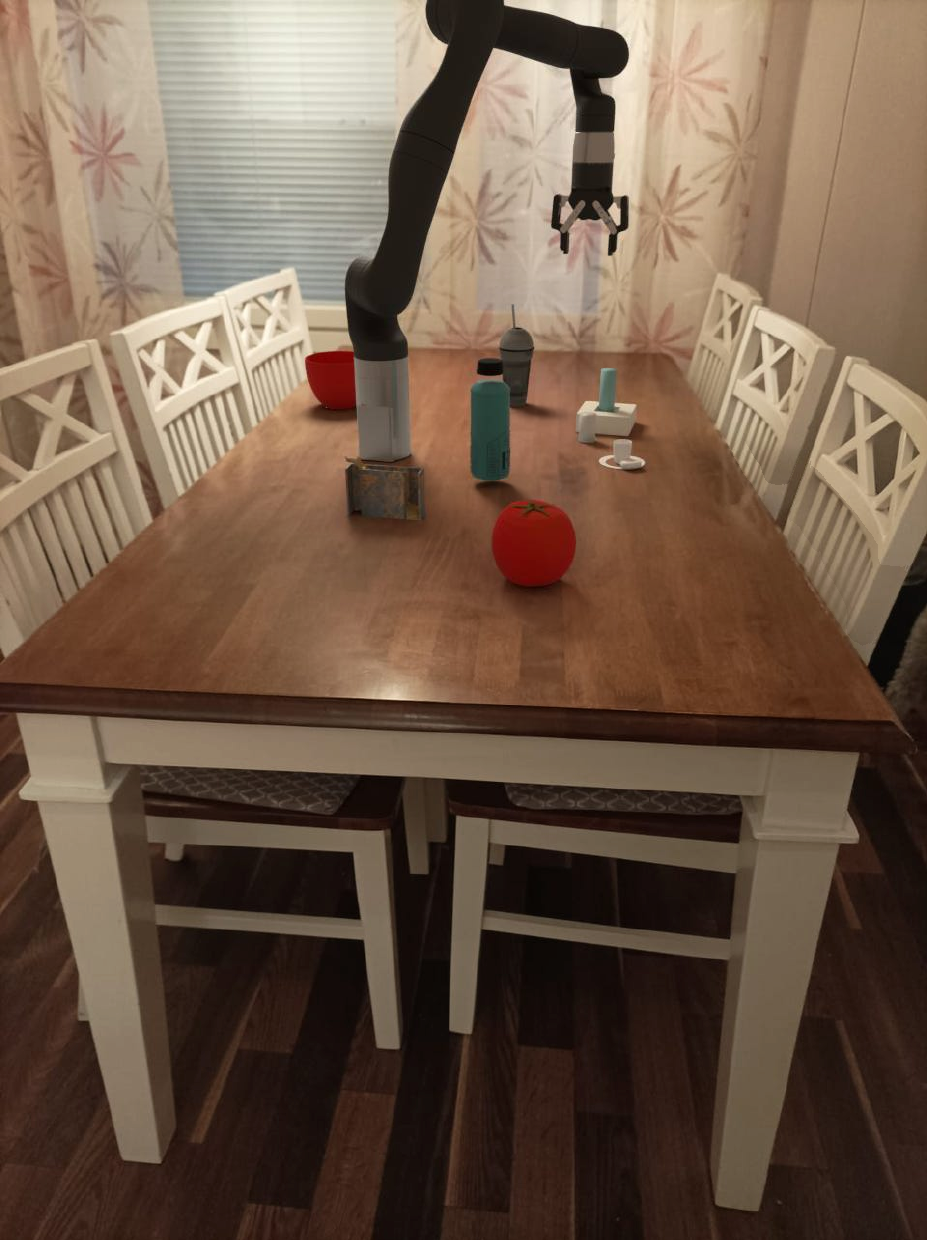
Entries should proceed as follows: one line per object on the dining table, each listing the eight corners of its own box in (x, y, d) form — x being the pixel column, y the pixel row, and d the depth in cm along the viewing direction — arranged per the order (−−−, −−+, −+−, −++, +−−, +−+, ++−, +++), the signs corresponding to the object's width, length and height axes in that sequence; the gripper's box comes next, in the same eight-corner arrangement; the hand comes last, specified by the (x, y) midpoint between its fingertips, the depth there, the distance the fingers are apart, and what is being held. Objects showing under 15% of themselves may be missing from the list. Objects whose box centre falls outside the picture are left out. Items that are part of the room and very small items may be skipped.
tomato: (522, 557, 130) (524, 481, 125) (588, 578, 124) (593, 499, 119) (473, 583, 123) (473, 503, 118) (541, 606, 117) (544, 523, 112)
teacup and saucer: (643, 474, 162) (646, 451, 160) (596, 471, 163) (598, 448, 161) (645, 459, 169) (647, 436, 168) (600, 456, 171) (602, 433, 169)
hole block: (628, 436, 180) (629, 417, 179) (575, 431, 183) (576, 413, 181) (635, 422, 189) (636, 404, 187) (584, 418, 191) (585, 400, 190)
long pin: (611, 429, 184) (615, 371, 179) (596, 428, 185) (599, 370, 180) (614, 425, 187) (618, 368, 182) (598, 424, 188) (602, 367, 183)
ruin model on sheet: (346, 518, 144) (343, 456, 140) (352, 511, 147) (349, 449, 142) (420, 524, 142) (418, 460, 138) (425, 516, 145) (423, 454, 140)
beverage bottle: (506, 491, 153) (508, 364, 144) (465, 488, 155) (465, 362, 145) (512, 478, 159) (515, 355, 150) (473, 475, 160) (473, 353, 151)
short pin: (593, 443, 176) (594, 416, 174) (577, 442, 177) (578, 415, 175) (595, 439, 179) (597, 412, 176) (580, 437, 180) (581, 411, 177)
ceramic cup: (386, 414, 195) (384, 364, 190) (303, 413, 195) (299, 364, 190) (392, 398, 206) (390, 350, 202) (313, 397, 206) (310, 350, 202)
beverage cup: (519, 410, 197) (522, 309, 188) (491, 404, 201) (492, 305, 192) (539, 403, 202) (542, 304, 193) (510, 397, 206) (512, 300, 197)
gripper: (550, 160, 174) (547, 255, 181) (629, 160, 170) (622, 258, 177) (558, 159, 180) (555, 251, 187) (635, 159, 176) (628, 253, 184)
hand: (588, 254), depth 182 cm, fingers open, 8 cm apart
